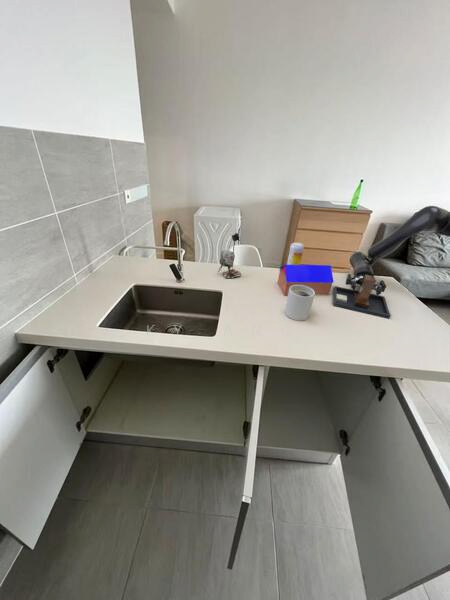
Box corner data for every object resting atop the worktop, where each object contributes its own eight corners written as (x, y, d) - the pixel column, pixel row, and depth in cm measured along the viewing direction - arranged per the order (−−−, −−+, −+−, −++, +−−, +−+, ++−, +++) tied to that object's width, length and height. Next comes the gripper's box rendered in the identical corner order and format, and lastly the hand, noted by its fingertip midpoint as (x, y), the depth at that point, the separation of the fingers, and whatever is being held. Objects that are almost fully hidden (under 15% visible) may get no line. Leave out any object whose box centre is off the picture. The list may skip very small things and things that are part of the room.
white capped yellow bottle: (300, 274, 121) (307, 245, 114) (291, 276, 118) (298, 247, 111) (291, 269, 126) (297, 241, 118) (282, 272, 123) (288, 243, 115)
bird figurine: (218, 271, 120) (219, 230, 109) (240, 272, 120) (244, 231, 110) (217, 278, 113) (218, 235, 103) (241, 279, 113) (245, 237, 103)
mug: (294, 322, 86) (300, 298, 81) (278, 309, 93) (283, 286, 88) (317, 316, 90) (324, 293, 85) (300, 303, 97) (306, 281, 92)
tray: (382, 300, 103) (384, 296, 102) (388, 320, 90) (390, 315, 89) (333, 290, 109) (334, 286, 108) (332, 307, 96) (334, 302, 95)
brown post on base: (366, 299, 101) (376, 275, 95) (367, 309, 95) (378, 283, 89) (353, 297, 103) (362, 272, 97) (353, 306, 97) (364, 280, 91)
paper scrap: (346, 297, 102) (346, 295, 102) (346, 302, 99) (347, 300, 98) (336, 295, 103) (336, 293, 103) (335, 300, 100) (336, 298, 100)
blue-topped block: (276, 282, 112) (280, 259, 106) (318, 283, 114) (324, 259, 108) (283, 296, 102) (288, 270, 96) (329, 296, 104) (337, 271, 98)
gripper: (348, 263, 107) (349, 277, 94) (384, 269, 103) (391, 286, 90) (343, 278, 111) (343, 294, 98) (378, 285, 107) (383, 303, 94)
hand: (366, 290), depth 94 cm, fingers open, 8 cm apart
